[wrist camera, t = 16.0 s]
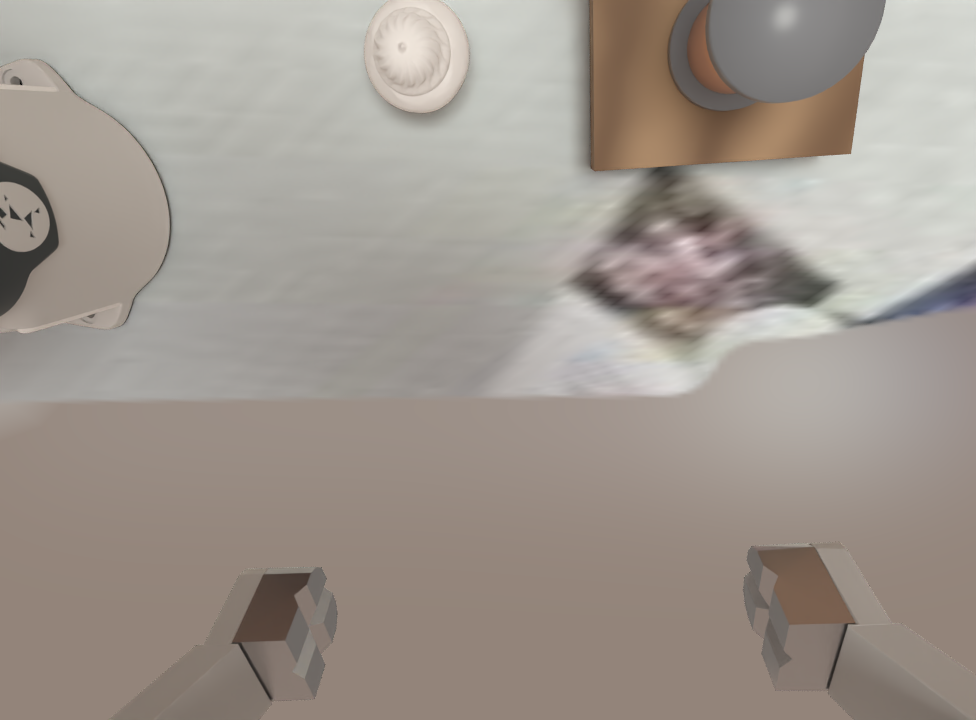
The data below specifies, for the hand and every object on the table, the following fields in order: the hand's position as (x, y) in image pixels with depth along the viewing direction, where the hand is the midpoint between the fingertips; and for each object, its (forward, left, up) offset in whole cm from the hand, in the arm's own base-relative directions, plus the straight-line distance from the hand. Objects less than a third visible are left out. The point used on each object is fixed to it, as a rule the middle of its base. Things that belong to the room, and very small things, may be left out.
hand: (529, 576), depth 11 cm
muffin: (-7, +13, -31) cm, 35 cm away
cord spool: (+10, +12, -27) cm, 31 cm away
